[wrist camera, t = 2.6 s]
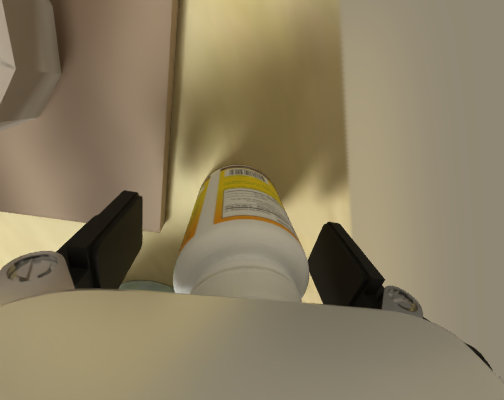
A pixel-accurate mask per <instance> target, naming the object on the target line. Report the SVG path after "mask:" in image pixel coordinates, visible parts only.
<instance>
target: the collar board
mask: <svg viewBox="0 0 504 400" xmlns="http://www.w3.org/2000/svg"><path fill="white" fill-rule="evenodd" d="M178 6H179V0H0V211H1V212H8V213H16V214H23V215H31V216H38V217H46V218H53V219H61V220H68V221H76V222H83V223H87V222H88V221H89V220H91V219H92V218H93V217H94V216H95V215H99V214H100V213H101V212H102V211H103V210H104V209H105V208H106V207H107V206H108V205H109V204H110V203H111V202H112V201H113V200H114V199H115V198H116V197H117V196H118V195H119V194H120V193H121V192H122V191H124V190H126V191H133V192H138V194H139V196H142V198H143V226H142V230H143V231H150V232H158V233H160V231H161V229H162V227H163V225H164V223H165V207H166V192H167V176H168V161H169V145H170V130H171V115H172V99H173V84H174V68H175V53H176V37H177V22H178Z"/></svg>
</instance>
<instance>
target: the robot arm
mask: <svg viewBox="0 0 504 400" xmlns="http://www.w3.org/2000/svg"><path fill="white" fill-rule="evenodd" d="M142 226H143V198H142V196H139V194H138V192H133V191H126V190H124V191H122V192H121V193H120V194H119V195H118V196H117V197H116V198H115V199H114V200H113V201H112V202H111V203H110V204H109V205H108V206H107V207H106V208H105V209H104V210H103V211H102V212H101V213H100V214H99V215H95V216H94V217H93V218H92V219H91V220H89V221H88V222H87V223H86V224H85V225H84V226H83V227H82V228H81V229H80V230H79V231H78V232H77V233H76V234H75V235H74V236H73V237H71V238H70V239H69V240H68V241H67V242H66V243H65V244H64V245H63V246H62V247H61V248H60V249H59V250H58V251H57V252H52V251H39V252H34V253H29V254H26V255H23V256H20V257H18V258H16V259H14V260H12V261H10V262H9V263H8V264H6V265H5V266H4V267H3V268H2V269H1V270H0V400H504V379H502V378H501V377H500V376H499V377H498V376H497V375H496V374H495V373H494V372H493V370H492V368H491V367H490V365H489V364H488V362H487V361H486V360H485V359H484V357H483V356H482V355H481V354H480V353H479V352H478V351H477V350H476V349H475V348H473V347H472V346H470V345H468V344H466V343H464V342H463V341H462V340H460V339H459V338H458V337H457V336H455V335H454V334H453V333H451V332H450V331H448V330H446V329H444V328H443V327H440V326H439V325H437V324H434V323H432V322H430V321H429V320H427V319H426V318H424V317H423V312H422V308H421V306H420V304H419V303H418V302H417V301H416V300H415V298H414V297H412V296H411V295H410V294H409V293H407V292H406V291H404V290H402V289H400V288H398V287H395V286H387V287H385V288H384V287H383V286H382V284H383V282H384V281H385V279H384V278H383V276H382V275H381V274H380V273H379V272H378V270H377V269H376V268H375V267H374V265H373V264H372V263H371V262H370V261H369V260H368V258H367V257H366V255H364V253H363V252H362V251H361V249H360V248H359V247H358V246H357V244H356V243H355V242H354V241H353V239H352V238H351V237H350V236H349V235H348V233H347V232H346V231H345V230H344V228H343V227H342V226H341V225H340V224H339V223H333V222H328V223H327V224H324V225H323V227H322V230H321V232H320V234H319V236H318V239H317V241H316V243H315V245H314V248H313V250H312V252H311V254H310V257H309V259H308V265H309V272H310V274H311V277H312V279H313V281H314V284H315V286H316V288H317V291H318V293H319V295H320V297H321V300H322V302H323V304H314V303H303V302H291V301H278V300H265V299H252V298H240V297H227V296H213V295H199V294H185V293H171V292H157V291H143V290H126V289H119V287H120V285H121V283H122V281H123V280H124V278H125V276H126V274H127V272H128V271H129V269H130V267H131V265H132V263H133V262H134V260H135V258H136V256H137V254H138V253H139V251H140V249H141V246H142Z"/></svg>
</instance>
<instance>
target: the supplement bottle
mask: <svg viewBox="0 0 504 400" xmlns="http://www.w3.org/2000/svg"><path fill="white" fill-rule="evenodd" d="M308 281H309V265H308V261H307V258H306V255H305V252H304V250H303V248H302V245H301V243H300V241H299V239H298V237H297V235H296V233H295V231H294V229H293V226H292V224H291V222H290V220H289V218H288V216H287V213H286V211H285V209H284V207H283V205H282V203H281V201H280V199H279V197H278V194H277V192H276V190H275V188H274V186H273V184H272V183H271V181H270V180H269V179H268V177H267V176H266V175H264V174H263V173H262V172H260V171H259V170H257V169H255V168H253V167H250V166H246V165H230V166H226V167H223V168H220V169H218V170H216V171H215V172H213V173H212V174H211V175H210V176H208V178H207V179H206V180H205V181H204V183H203V184H202V186H201V188H200V191H199V194H198V196H197V200H196V203H195V206H194V209H193V212H192V215H191V218H190V221H189V224H188V227H187V230H186V233H185V236H184V239H183V242H182V245H181V248H180V251H179V254H178V257H177V260H176V264H175V268H174V273H173V286H174V291H175V293H185V294H199V295H213V296H227V297H240V298H252V299H265V300H278V301H291V302H302V301H301V299H302V297H303V295H304V294H305V291H306V288H307V286H308Z"/></svg>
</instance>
